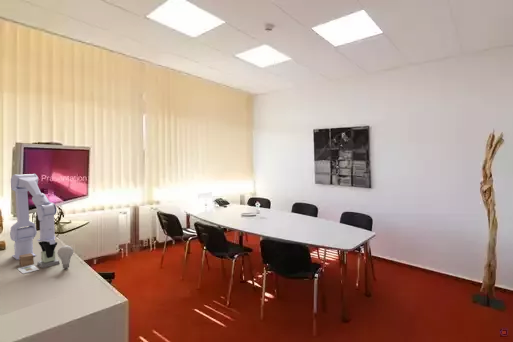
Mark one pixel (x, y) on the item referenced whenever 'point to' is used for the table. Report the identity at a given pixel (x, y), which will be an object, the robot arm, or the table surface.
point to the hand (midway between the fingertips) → (48, 256)
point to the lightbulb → (65, 255)
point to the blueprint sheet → (27, 269)
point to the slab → (48, 263)
